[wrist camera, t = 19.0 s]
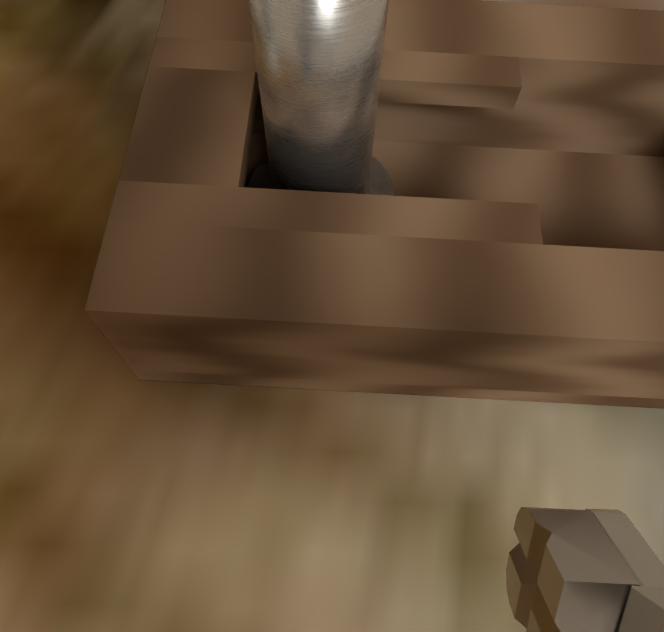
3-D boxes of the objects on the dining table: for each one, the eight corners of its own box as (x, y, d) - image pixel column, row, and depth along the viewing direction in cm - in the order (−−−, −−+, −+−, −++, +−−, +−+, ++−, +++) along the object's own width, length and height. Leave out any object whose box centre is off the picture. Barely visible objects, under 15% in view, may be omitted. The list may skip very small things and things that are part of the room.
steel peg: (243, 271, 22) (166, -47, 11) (257, 156, 24) (203, -195, 14) (391, 276, 22) (456, -38, 11) (390, 161, 24) (441, -187, 14)
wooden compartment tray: (665, 123, 27) (745, 15, 22) (745, 412, 21) (880, 353, 16) (197, 97, 27) (170, -18, 22) (139, 379, 21) (84, 310, 16)
